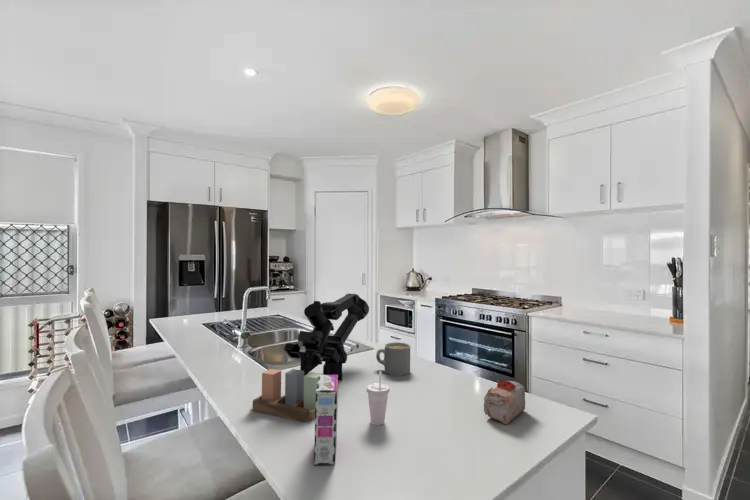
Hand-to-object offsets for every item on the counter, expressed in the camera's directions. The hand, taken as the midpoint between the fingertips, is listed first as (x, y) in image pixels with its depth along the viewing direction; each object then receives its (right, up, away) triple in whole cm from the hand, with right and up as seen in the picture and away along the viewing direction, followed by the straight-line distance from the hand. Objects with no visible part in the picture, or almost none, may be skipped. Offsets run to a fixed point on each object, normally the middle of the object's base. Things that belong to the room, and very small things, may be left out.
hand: (301, 377), depth 113 cm
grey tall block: (-1, -7, -3) cm, 8 cm away
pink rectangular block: (-8, -7, -3) cm, 12 cm away
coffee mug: (+30, -8, +29) cm, 43 cm away
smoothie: (+24, -8, -13) cm, 28 cm away
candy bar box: (+12, -8, -28) cm, 31 cm away
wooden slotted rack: (-2, -7, -6) cm, 10 cm away
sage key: (+5, -7, -6) cm, 10 cm away
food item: (+61, -8, -8) cm, 62 cm away
